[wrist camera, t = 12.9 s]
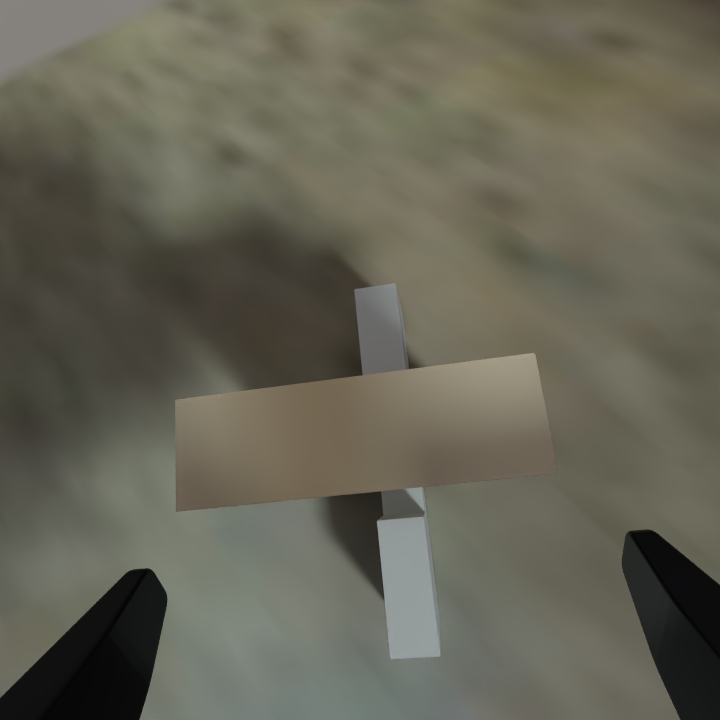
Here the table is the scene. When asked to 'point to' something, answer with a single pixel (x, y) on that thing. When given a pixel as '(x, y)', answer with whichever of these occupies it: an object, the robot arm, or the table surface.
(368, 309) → the slotted rail
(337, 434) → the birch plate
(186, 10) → the table surface
